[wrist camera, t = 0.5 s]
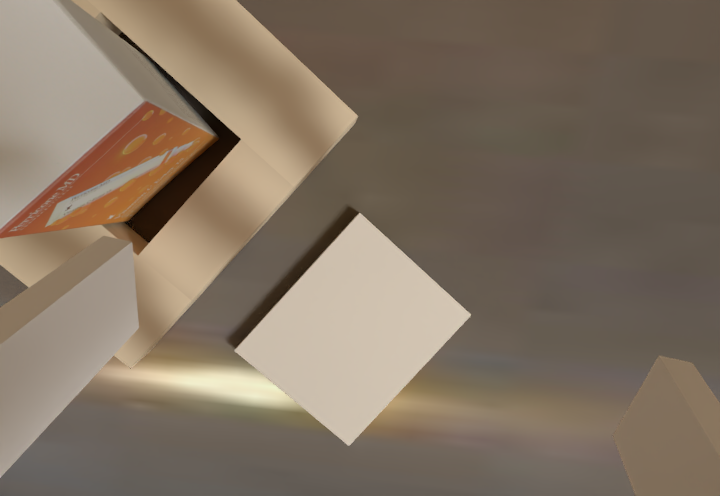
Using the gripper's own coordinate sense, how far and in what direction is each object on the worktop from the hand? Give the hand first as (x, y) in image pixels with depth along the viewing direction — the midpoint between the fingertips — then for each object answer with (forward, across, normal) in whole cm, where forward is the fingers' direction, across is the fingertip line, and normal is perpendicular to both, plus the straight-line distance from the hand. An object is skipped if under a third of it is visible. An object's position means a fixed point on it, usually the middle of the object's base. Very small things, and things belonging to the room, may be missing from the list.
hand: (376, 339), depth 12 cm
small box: (+18, +17, +3) cm, 25 cm away
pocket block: (+18, +17, +3) cm, 24 cm away
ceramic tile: (+16, +2, +12) cm, 20 cm away
